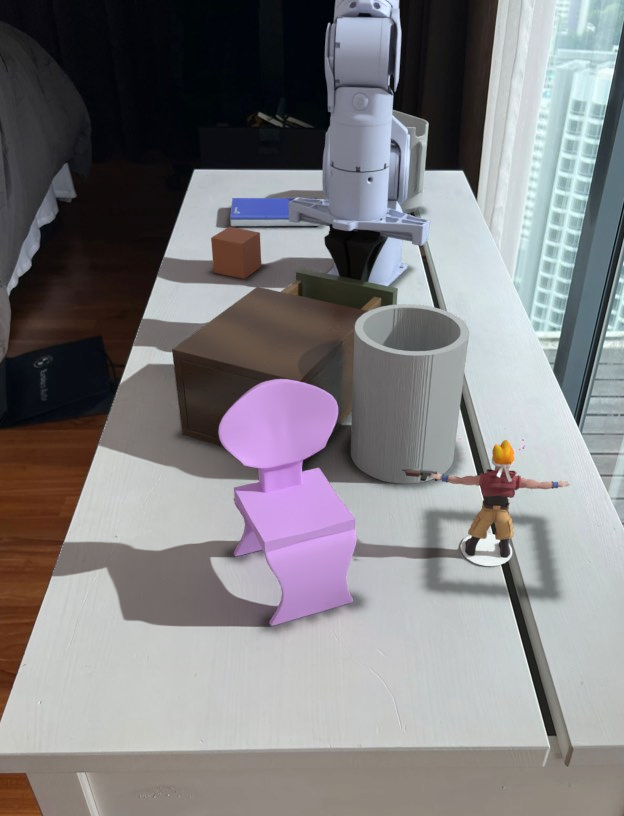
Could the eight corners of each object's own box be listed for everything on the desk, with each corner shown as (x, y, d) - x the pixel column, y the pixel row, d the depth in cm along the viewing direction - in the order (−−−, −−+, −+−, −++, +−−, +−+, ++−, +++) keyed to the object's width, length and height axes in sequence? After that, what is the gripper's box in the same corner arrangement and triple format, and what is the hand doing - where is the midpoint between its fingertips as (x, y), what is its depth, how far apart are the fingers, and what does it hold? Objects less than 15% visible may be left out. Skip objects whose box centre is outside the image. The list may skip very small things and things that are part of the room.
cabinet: (260, 366, 87) (257, 286, 81) (368, 393, 83) (371, 311, 77) (181, 435, 76) (171, 349, 71) (300, 469, 73) (298, 381, 67)
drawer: (318, 313, 94) (319, 253, 90) (409, 333, 91) (413, 272, 87) (238, 383, 82) (233, 318, 78) (339, 410, 79) (340, 343, 74)
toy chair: (259, 635, 57) (247, 452, 48) (220, 557, 64) (203, 381, 54) (369, 602, 60) (379, 423, 50) (322, 531, 66) (322, 358, 57)
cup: (335, 437, 77) (337, 314, 69) (423, 418, 79) (434, 297, 72) (377, 493, 70) (385, 363, 63) (472, 469, 73) (490, 343, 65)
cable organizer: (379, 190, 131) (383, 106, 123) (433, 213, 123) (441, 124, 116) (345, 199, 127) (347, 112, 120) (399, 222, 120) (405, 132, 112)
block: (231, 260, 108) (229, 226, 105) (261, 267, 107) (260, 232, 104) (213, 272, 105) (210, 237, 102) (244, 279, 104) (242, 243, 101)
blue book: (230, 216, 116) (319, 215, 117) (232, 196, 122) (317, 196, 123) (230, 227, 117) (319, 227, 118) (232, 207, 123) (316, 207, 124)
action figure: (395, 559, 64) (403, 456, 58) (396, 534, 66) (404, 433, 60) (554, 569, 63) (579, 466, 57) (550, 544, 66) (573, 443, 60)
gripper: (272, 163, 79) (276, 300, 88) (415, 186, 75) (404, 328, 83) (306, 146, 84) (306, 277, 93) (442, 166, 80) (429, 302, 88)
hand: (355, 300), depth 89 cm, fingers closed, pressing on drawer
